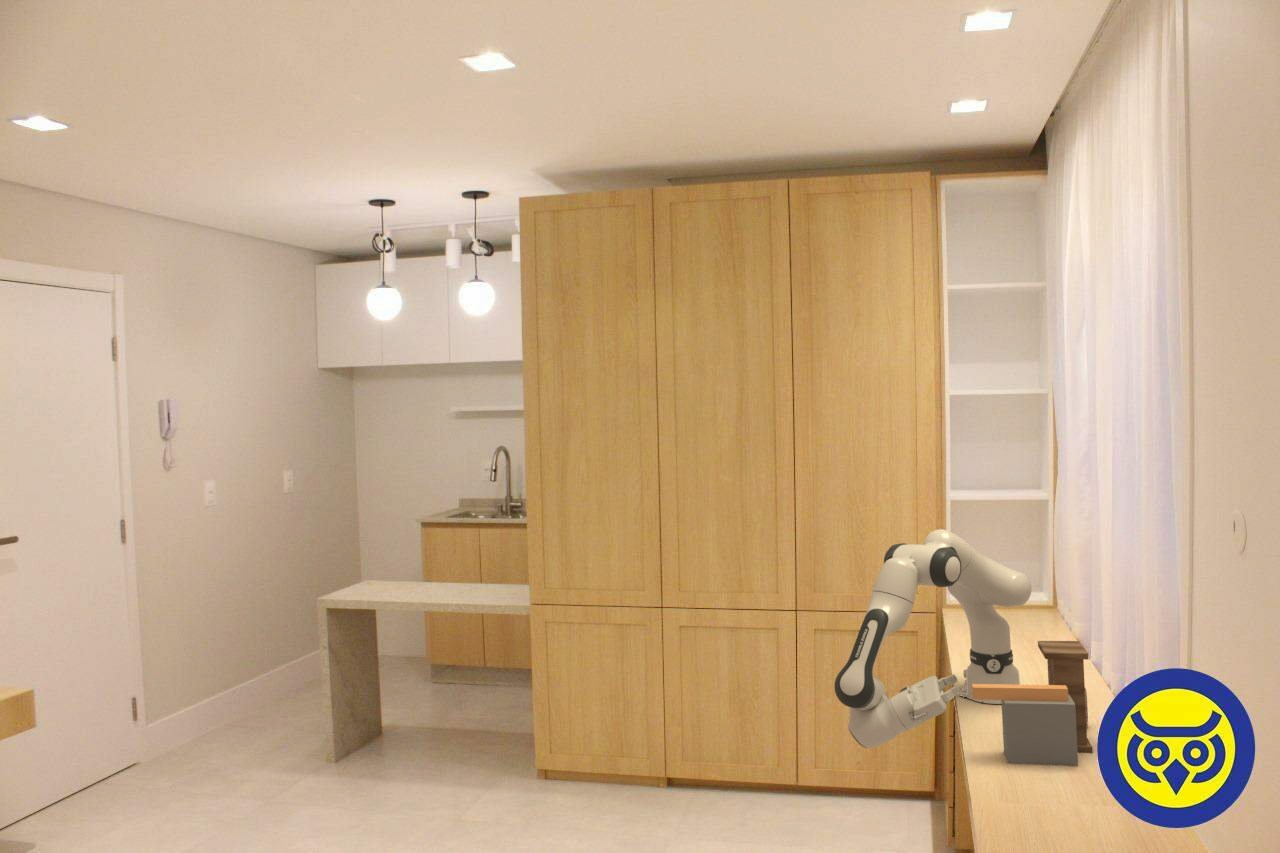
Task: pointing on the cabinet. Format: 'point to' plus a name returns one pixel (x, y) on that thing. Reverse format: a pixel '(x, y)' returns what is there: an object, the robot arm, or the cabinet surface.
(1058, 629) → the cabinet surface
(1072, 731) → the grey step block
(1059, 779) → the cabinet surface
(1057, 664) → the walnut stand
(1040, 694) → the orange square-ended block
